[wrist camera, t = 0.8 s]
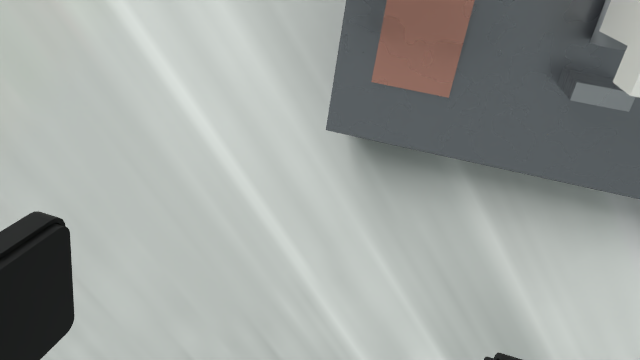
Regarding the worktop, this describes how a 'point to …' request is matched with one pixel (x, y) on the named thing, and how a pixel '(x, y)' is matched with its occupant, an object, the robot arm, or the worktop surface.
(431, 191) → the worktop surface
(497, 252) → the worktop surface
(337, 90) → the breaker panel
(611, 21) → the toggle lever
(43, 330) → the robot arm
